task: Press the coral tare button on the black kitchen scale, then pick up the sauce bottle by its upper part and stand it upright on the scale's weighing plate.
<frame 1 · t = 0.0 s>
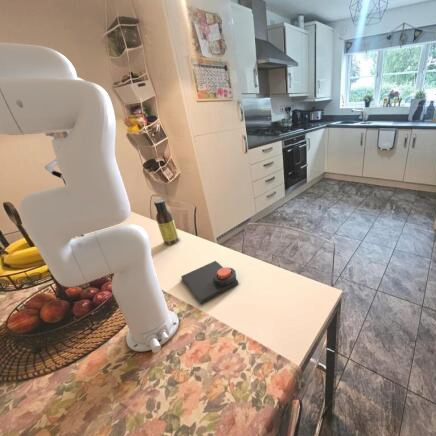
hand: (89, 186, 83), 31 cm above the table, tool pointing down, fingers open, 9 cm apart
sauce bottle: (171, 242, 109), on the table
tare button: (224, 273, 82), point 4 cm above the table, slide at 0.2 cm
scale: (209, 282, 84), on the table
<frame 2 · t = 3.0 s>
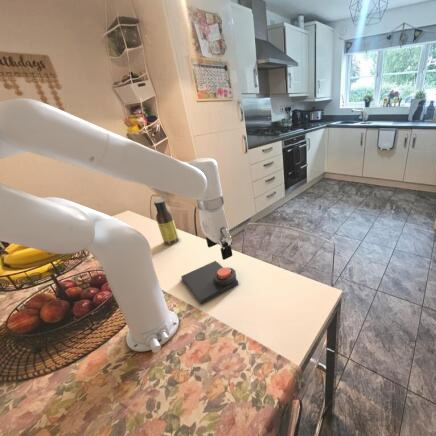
hand: (219, 251, 78), 12 cm above the table, tool pointing down, fingers open, 9 cm apart
nothing on the table moved.
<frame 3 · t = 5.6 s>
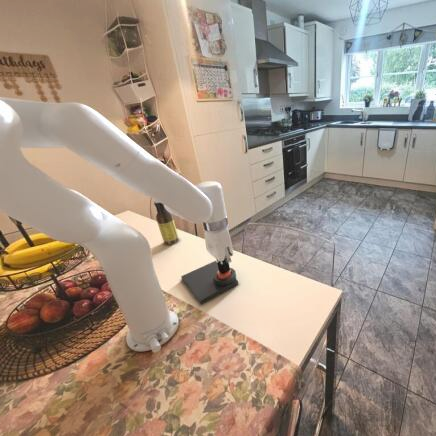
hand: (224, 271, 82), 5 cm above the table, tool pointing down, fingers closed
tare button: (224, 273, 82), point 4 cm above the table, slide at 0.0 cm, touching gripper
everything else where it was.
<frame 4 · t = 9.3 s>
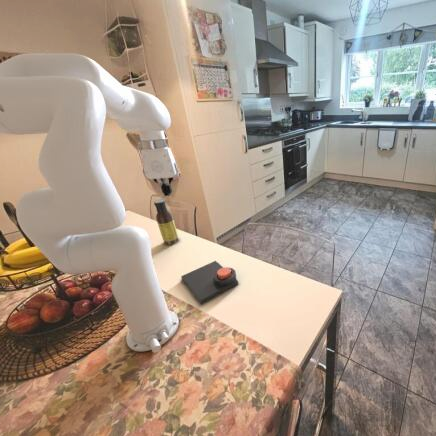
hand: (168, 194, 92), 25 cm above the table, tool pointing down, fingers closed
tare button: (224, 273, 82), point 4 cm above the table, slide at 0.1 cm
everything else where it was.
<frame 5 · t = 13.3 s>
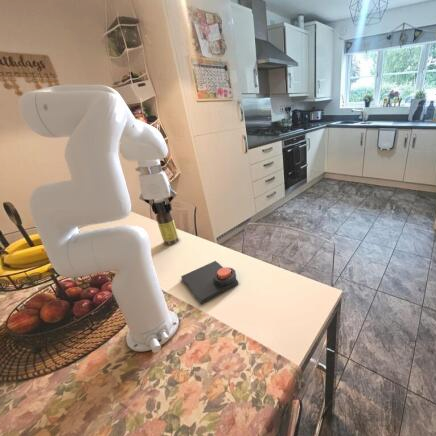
hand: (163, 211, 103), 15 cm above the table, tool pointing down, fingers closed on sauce bottle, 4 cm apart
sauce bottle: (171, 242, 109), on the table, touching gripper
everything else where it was.
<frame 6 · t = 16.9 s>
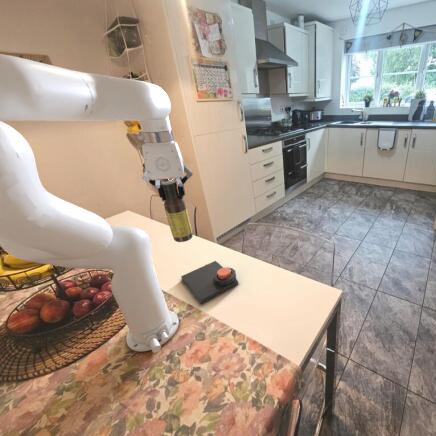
hand: (173, 197, 77), 29 cm above the table, tool pointing down, fingers closed on sauce bottle, 4 cm apart
sauce bottle: (183, 239, 83), point 14 cm above the table, touching gripper
everything else where it was.
when the fingers open (16 cm above the table, at t = 20.8 s): sauce bottle stays where it is, resting on scale.
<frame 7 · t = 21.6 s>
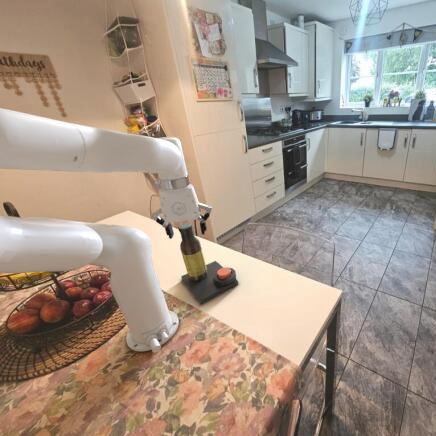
hand: (188, 234, 77), 18 cm above the table, tool pointing down, fingers open, 9 cm apart
sauce bottle: (198, 276, 85), point 2 cm above the table, touching scale
everything else where it was.
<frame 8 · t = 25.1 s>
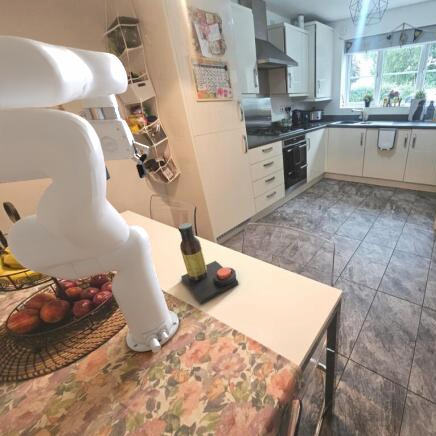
hand: (125, 178, 72), 36 cm above the table, tool pointing down, fingers open, 9 cm apart
nothing on the table moved.
at the end: tare button pushed in 1.1 cm at the most during the clip, back to where it started at the end; sauce bottle inside the target area on the scale (0.0 cm from its centre), point 1.5 cm above the scale's base; sauce bottle touching scale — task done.
